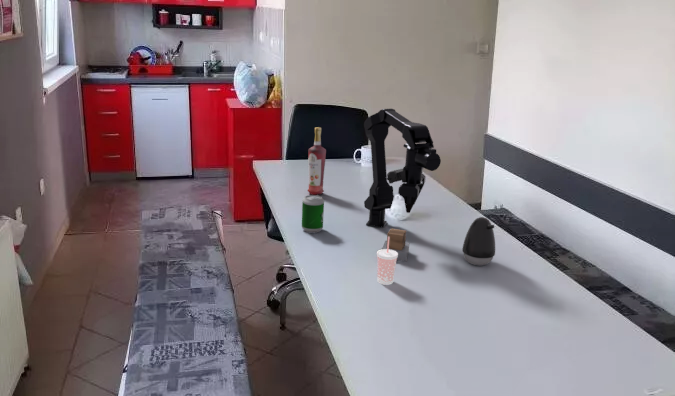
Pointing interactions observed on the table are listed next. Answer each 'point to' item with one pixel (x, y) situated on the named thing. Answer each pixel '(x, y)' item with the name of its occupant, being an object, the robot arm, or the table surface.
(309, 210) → the soda can
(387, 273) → the beverage cup
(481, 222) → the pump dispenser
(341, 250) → the table surface
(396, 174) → the robot arm
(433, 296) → the table surface
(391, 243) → the walnut cube
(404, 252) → the slate block
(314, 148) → the liquor
